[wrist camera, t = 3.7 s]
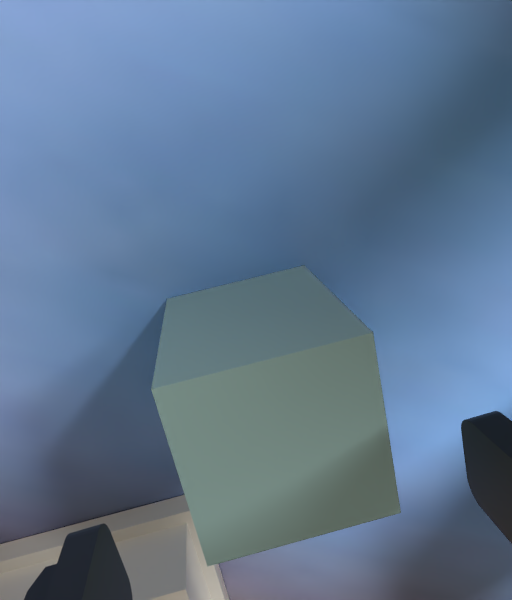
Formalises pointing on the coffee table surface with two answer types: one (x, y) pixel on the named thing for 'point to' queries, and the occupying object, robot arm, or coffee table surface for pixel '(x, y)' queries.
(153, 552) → the plinth
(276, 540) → the block
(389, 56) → the coffee table surface
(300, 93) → the coffee table surface
